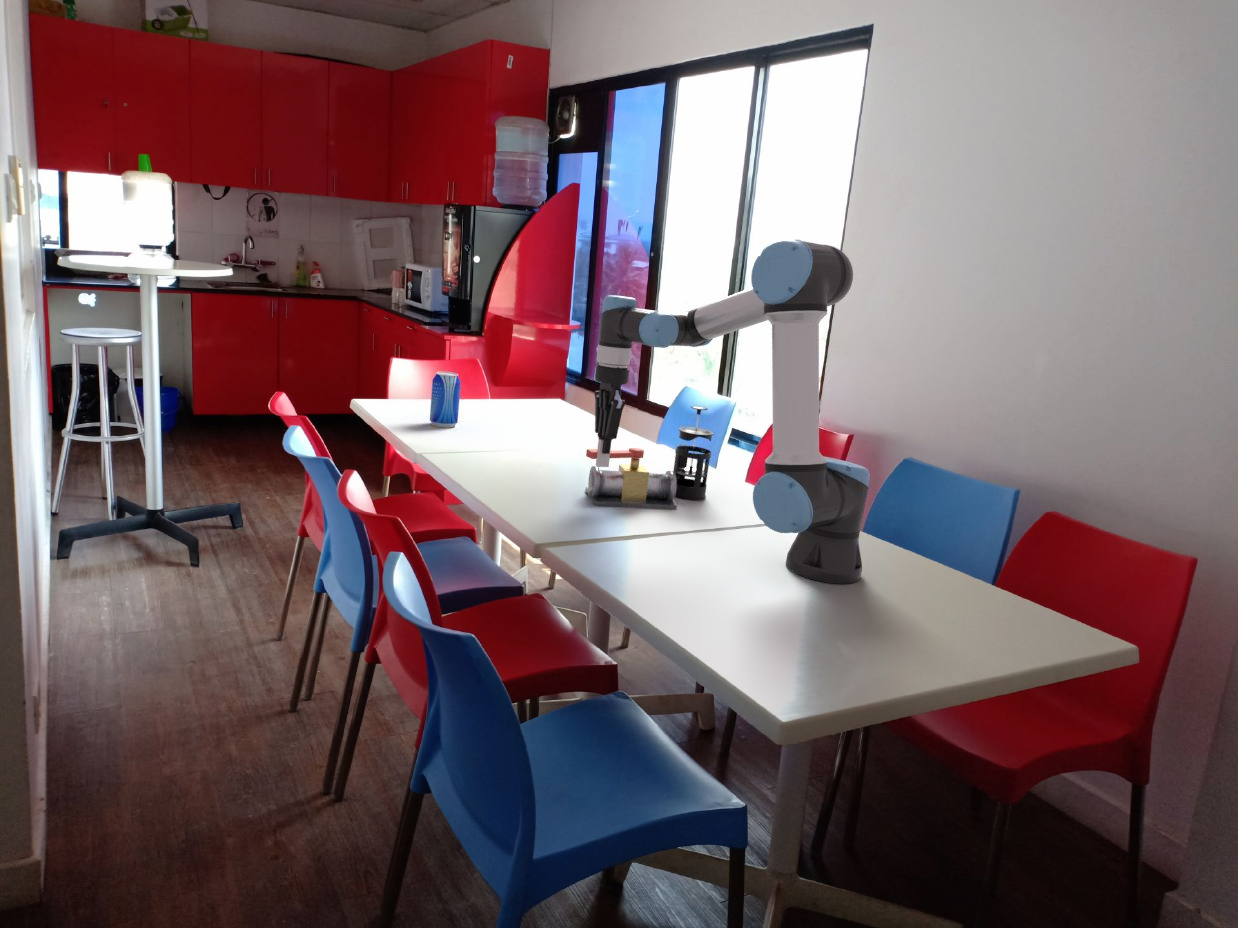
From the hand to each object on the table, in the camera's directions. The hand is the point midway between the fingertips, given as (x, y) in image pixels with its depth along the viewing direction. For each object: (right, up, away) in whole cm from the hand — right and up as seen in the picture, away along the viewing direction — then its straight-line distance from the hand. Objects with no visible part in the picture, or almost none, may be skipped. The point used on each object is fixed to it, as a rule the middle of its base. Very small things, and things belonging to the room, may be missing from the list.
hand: (602, 466), depth 214 cm
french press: (+21, -8, +21) cm, 31 cm away
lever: (+3, +2, +4) cm, 6 cm away
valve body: (+7, -8, +10) cm, 14 cm away
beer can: (-50, +12, +69) cm, 86 cm away
